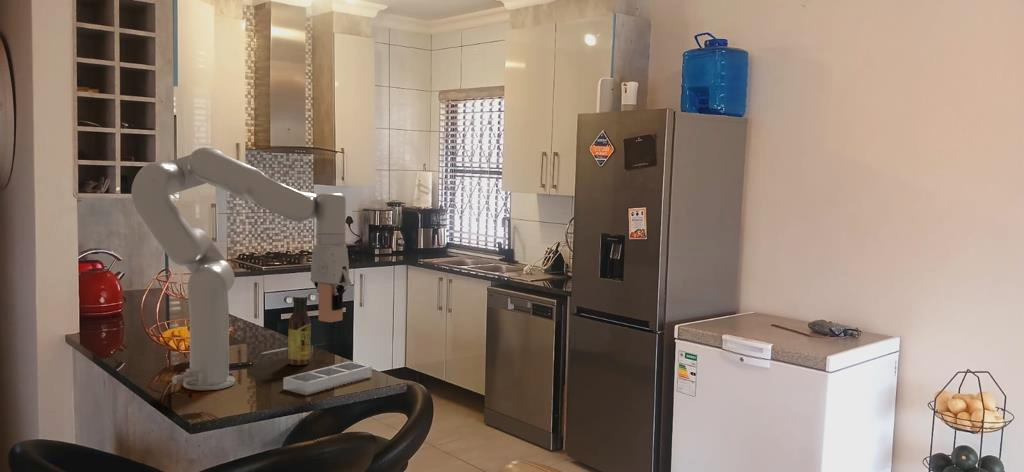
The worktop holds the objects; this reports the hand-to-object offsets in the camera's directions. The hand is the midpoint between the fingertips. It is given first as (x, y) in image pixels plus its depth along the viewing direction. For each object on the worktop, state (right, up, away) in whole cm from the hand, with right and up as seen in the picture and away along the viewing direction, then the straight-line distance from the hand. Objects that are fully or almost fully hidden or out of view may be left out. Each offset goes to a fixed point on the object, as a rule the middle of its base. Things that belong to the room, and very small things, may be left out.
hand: (330, 307), depth 210 cm
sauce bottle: (-14, -18, +21) cm, 31 cm away
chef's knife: (-25, -17, +38) cm, 49 cm away
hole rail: (-1, -20, +2) cm, 20 cm away
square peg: (0, -3, 0) cm, 3 cm away
